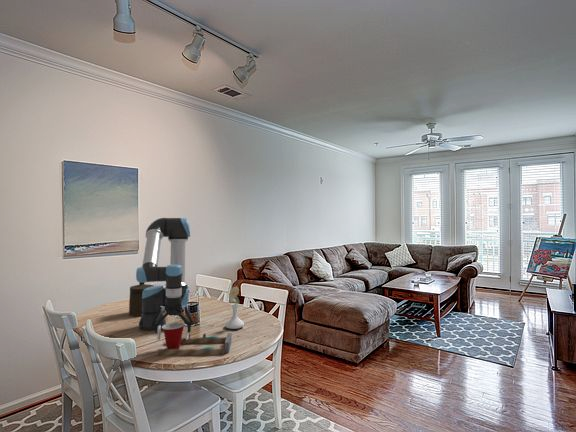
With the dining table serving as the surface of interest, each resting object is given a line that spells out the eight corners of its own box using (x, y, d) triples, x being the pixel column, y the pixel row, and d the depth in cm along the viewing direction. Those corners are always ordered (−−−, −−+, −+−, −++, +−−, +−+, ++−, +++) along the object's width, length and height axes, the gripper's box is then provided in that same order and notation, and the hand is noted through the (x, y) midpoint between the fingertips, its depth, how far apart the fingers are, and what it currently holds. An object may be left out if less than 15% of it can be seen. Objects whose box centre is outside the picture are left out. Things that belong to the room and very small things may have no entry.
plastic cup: (172, 343, 169) (173, 319, 169) (189, 346, 165) (189, 322, 165) (156, 350, 160) (156, 326, 160) (173, 354, 155) (173, 329, 155)
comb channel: (157, 355, 154) (157, 346, 154) (167, 342, 170) (167, 334, 170) (224, 354, 156) (224, 345, 156) (227, 341, 172) (227, 333, 172)
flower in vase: (223, 325, 198) (223, 284, 198) (241, 323, 202) (242, 282, 202) (227, 332, 186) (228, 288, 186) (247, 330, 190) (247, 287, 190)
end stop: (224, 352, 158) (224, 342, 158) (227, 342, 171) (227, 333, 171) (228, 352, 158) (229, 342, 158) (231, 342, 171) (231, 332, 171)
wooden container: (156, 310, 228) (156, 278, 228) (148, 316, 213) (148, 283, 213) (134, 310, 228) (135, 278, 228) (125, 316, 213) (125, 283, 213)
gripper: (145, 298, 158) (144, 342, 157) (197, 297, 160) (197, 341, 159) (150, 294, 165) (149, 337, 165) (200, 294, 167) (200, 336, 167)
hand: (173, 339), depth 162 cm, fingers open, 13 cm apart
